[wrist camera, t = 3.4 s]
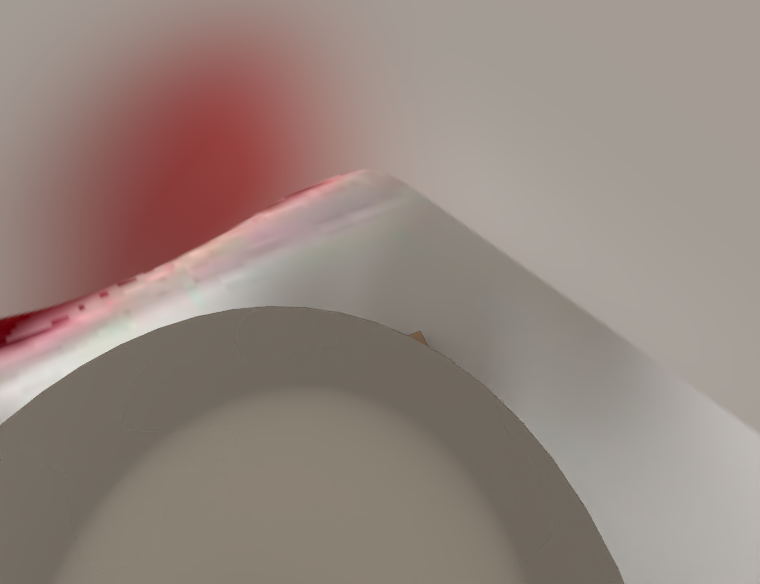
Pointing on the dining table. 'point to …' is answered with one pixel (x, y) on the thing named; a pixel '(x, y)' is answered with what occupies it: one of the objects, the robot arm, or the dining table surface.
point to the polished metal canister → (283, 466)
